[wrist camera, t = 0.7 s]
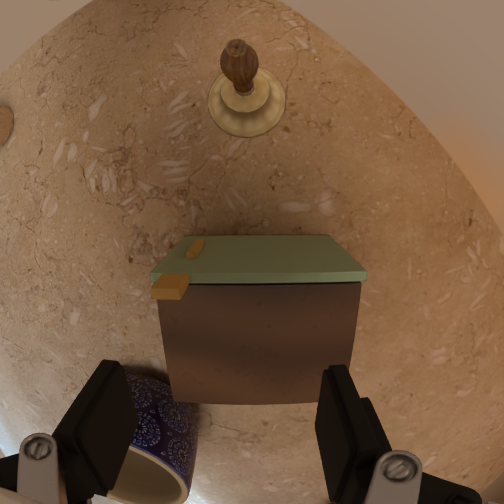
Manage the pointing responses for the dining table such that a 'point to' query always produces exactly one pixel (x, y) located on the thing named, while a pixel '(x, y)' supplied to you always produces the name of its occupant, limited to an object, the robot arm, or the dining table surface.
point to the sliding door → (252, 262)
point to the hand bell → (245, 93)
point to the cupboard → (257, 340)
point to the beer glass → (5, 123)
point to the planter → (158, 447)
